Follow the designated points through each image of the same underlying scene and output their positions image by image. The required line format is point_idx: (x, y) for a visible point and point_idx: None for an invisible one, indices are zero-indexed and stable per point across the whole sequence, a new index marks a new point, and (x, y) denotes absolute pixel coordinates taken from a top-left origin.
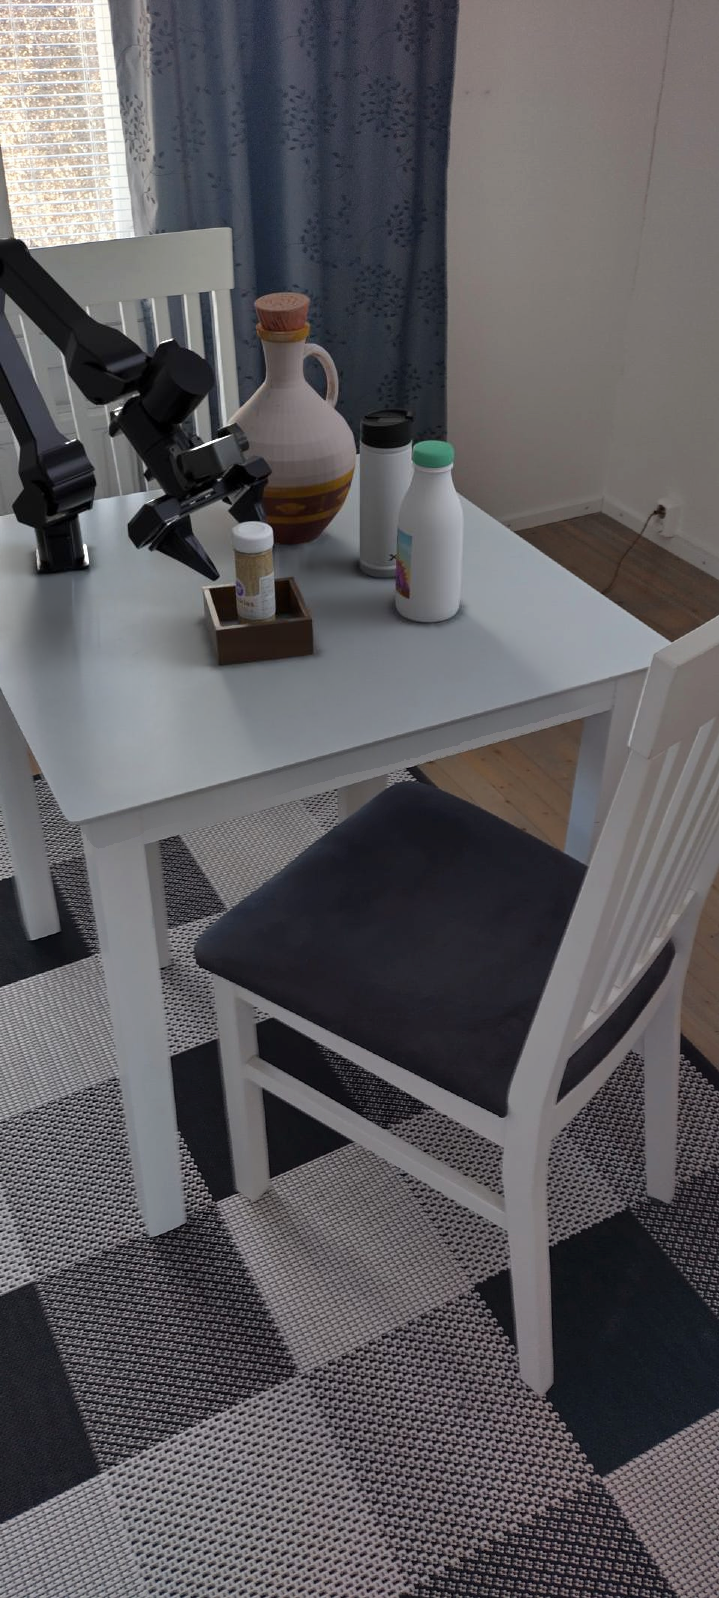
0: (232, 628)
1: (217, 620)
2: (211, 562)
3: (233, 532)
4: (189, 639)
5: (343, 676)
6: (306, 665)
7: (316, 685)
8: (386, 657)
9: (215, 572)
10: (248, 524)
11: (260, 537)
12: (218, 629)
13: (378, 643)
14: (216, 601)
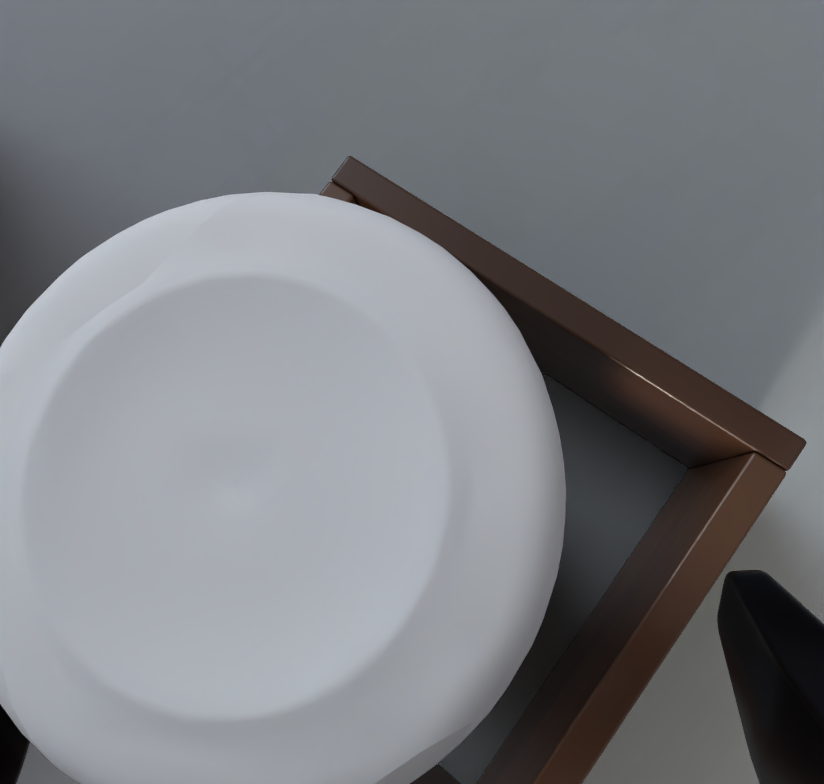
0: (719, 387)
1: (720, 522)
2: (809, 683)
3: (510, 639)
4: (658, 761)
5: (432, 52)
6: (464, 200)
7: (549, 74)
8: (228, 38)
9: (781, 597)
10: (137, 650)
11: (349, 211)
12: (789, 438)
13: (164, 123)
14: None
